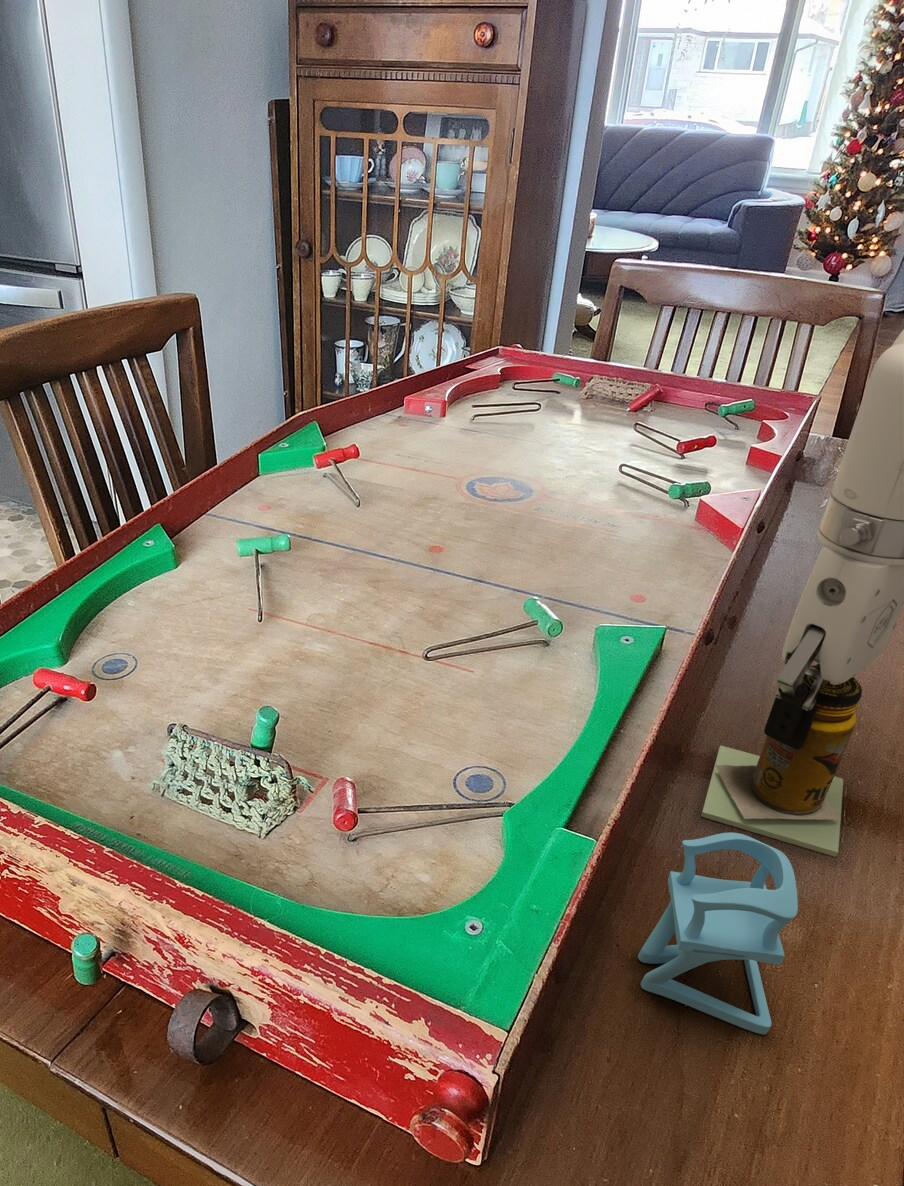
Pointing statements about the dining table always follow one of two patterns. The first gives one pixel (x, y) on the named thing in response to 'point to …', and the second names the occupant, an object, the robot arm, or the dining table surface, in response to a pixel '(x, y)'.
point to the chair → (722, 927)
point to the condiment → (798, 763)
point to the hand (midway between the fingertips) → (802, 723)
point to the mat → (792, 831)
